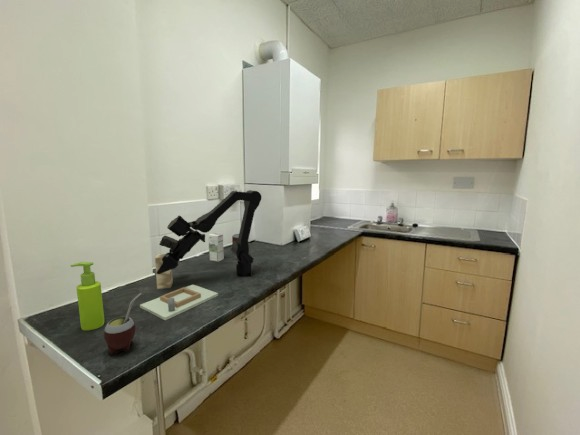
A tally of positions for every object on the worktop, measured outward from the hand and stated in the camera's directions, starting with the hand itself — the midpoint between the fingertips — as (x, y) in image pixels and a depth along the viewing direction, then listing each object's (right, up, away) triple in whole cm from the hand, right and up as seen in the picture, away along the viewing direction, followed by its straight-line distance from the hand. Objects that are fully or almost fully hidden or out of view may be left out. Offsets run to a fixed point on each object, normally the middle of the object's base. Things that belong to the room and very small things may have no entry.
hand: (160, 269), depth 113 cm
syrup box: (+14, -2, +36) cm, 39 cm away
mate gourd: (+9, -14, -39) cm, 43 cm away
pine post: (+1, -7, +1) cm, 7 cm away
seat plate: (+13, -9, -12) cm, 20 cm away
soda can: (+24, -1, +44) cm, 50 cm away
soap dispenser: (-8, -12, -29) cm, 32 cm away
